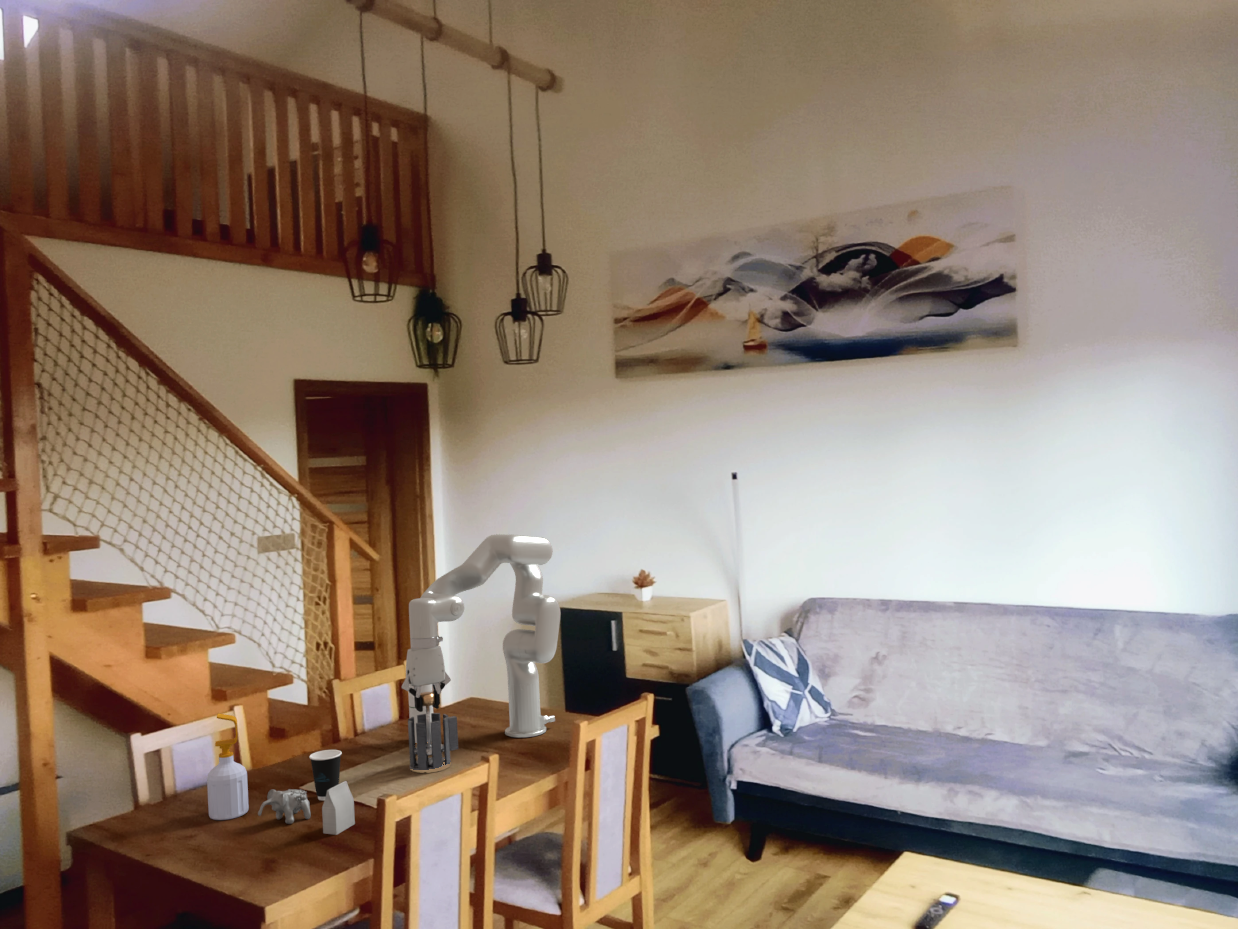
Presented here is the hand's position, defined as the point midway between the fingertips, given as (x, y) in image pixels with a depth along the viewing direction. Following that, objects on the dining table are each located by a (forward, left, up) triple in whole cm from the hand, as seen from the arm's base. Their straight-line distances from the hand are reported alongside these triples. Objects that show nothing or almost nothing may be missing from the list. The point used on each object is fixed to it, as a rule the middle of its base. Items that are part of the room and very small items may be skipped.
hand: (427, 708), depth 268 cm
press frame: (-1, 0, -16) cm, 16 cm away
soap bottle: (+53, +2, -16) cm, 56 cm away
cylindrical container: (-8, -27, -16) cm, 33 cm away
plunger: (0, 0, -12) cm, 12 cm away
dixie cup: (+30, +6, -16) cm, 35 cm away
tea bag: (+34, +30, -16) cm, 48 cm away
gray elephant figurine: (+43, +17, -16) cm, 49 cm away
